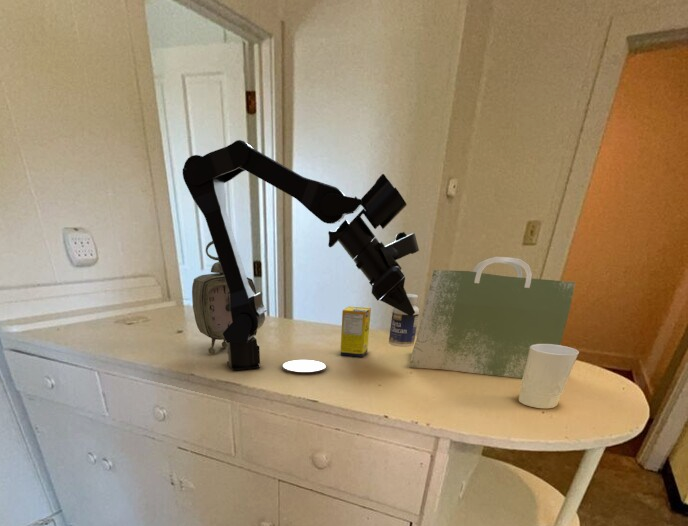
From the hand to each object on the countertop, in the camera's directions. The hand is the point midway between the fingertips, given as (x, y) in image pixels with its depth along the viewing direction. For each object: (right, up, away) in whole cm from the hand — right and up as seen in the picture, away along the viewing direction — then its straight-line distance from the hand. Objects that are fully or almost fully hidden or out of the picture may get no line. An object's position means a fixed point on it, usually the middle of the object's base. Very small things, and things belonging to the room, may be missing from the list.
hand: (412, 312), depth 88 cm
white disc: (-22, -8, +11) cm, 26 cm away
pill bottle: (-1, -6, +4) cm, 7 cm away
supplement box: (-9, -1, +23) cm, 25 cm away
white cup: (+22, -20, -6) cm, 31 cm away
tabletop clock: (-43, +1, +25) cm, 50 cm away
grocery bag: (+19, -7, +14) cm, 25 cm away
